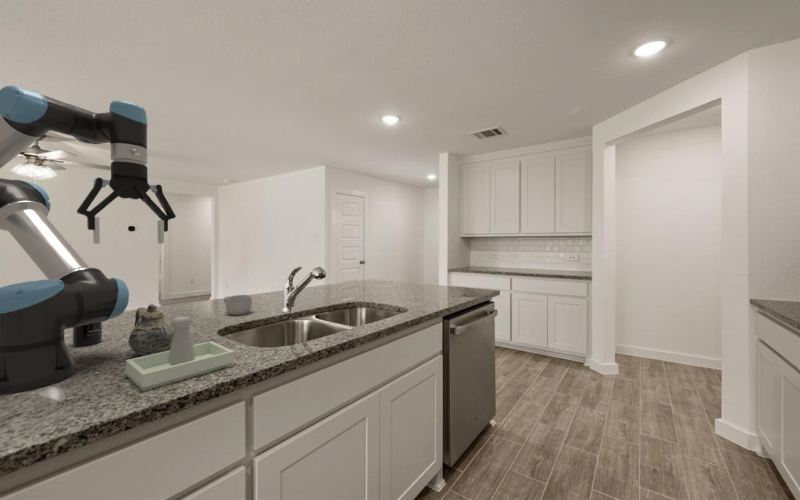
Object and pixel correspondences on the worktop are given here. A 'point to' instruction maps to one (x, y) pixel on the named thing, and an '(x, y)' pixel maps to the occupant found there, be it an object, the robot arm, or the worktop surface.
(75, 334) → the supplement bottle
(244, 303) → the teacup
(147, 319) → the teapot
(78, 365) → the worktop surface
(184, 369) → the tray
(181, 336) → the salt shaker
